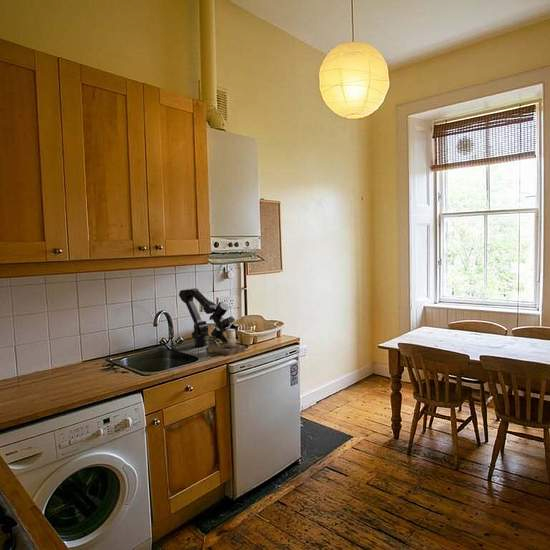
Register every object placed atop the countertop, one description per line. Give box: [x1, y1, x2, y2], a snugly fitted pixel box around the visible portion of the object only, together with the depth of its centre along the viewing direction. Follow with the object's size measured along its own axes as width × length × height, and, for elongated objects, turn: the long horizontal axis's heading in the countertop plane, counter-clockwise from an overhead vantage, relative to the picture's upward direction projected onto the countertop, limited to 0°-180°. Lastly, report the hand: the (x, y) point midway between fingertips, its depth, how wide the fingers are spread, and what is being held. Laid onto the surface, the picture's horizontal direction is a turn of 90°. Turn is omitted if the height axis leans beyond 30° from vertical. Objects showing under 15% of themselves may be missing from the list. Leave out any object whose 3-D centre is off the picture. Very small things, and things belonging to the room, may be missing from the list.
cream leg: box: [225, 329, 237, 348], centre depth 238 cm, size 5×5×13 cm
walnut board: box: [214, 343, 246, 356], centre depth 239 cm, size 13×13×3 cm
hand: (232, 340), depth 237 cm, fingers open, 9 cm apart
